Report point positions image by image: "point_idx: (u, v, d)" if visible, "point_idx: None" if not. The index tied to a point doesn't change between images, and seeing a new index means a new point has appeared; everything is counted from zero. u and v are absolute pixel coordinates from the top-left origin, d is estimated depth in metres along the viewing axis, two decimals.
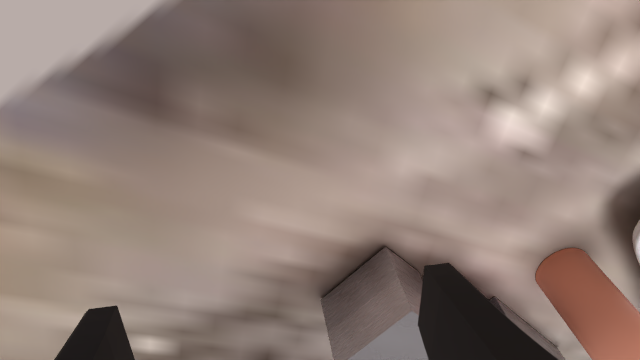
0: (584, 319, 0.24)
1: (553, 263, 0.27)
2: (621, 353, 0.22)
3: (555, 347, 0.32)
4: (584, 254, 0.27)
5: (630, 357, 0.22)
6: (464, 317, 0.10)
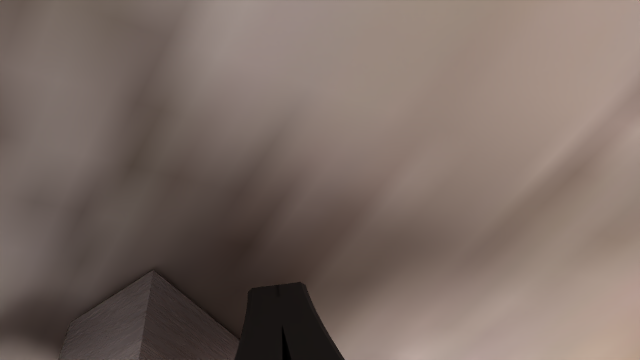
0: None
1: None
2: None
3: None
4: None
5: None
6: (287, 342, 0.10)
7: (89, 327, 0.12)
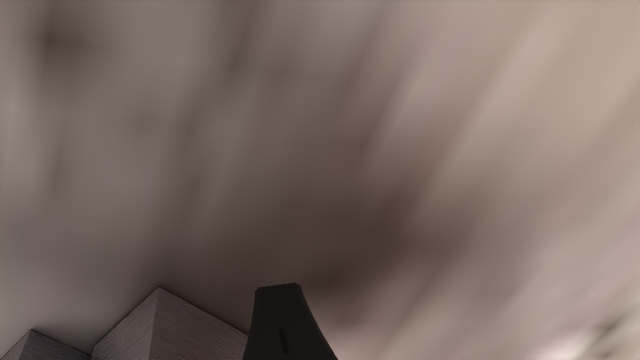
0: None
1: None
2: None
3: None
4: None
5: None
6: (281, 343, 0.10)
7: (108, 348, 0.13)
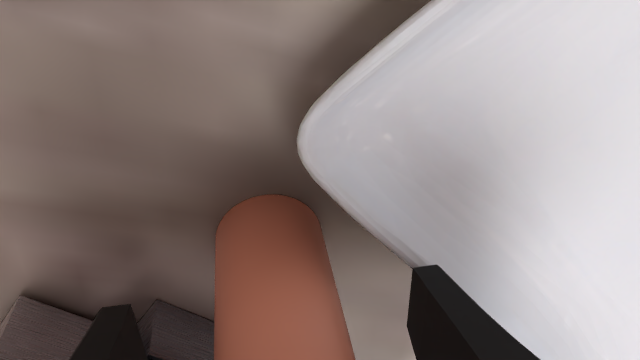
0: (215, 343, 0.11)
1: (224, 228, 0.14)
2: None
3: None
4: (285, 204, 0.14)
5: None
6: (450, 319, 0.10)
7: None
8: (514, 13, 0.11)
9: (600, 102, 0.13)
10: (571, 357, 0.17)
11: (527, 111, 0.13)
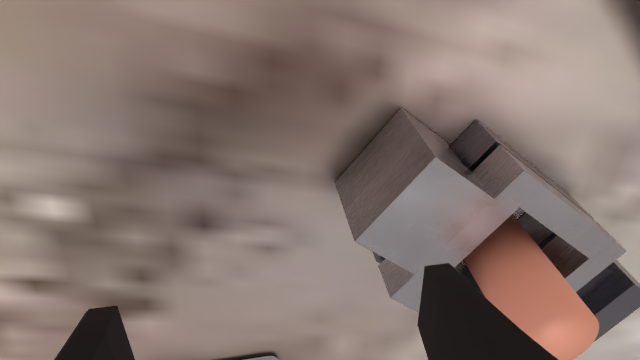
0: (478, 259, 0.22)
1: None
2: (509, 291, 0.20)
3: (566, 192, 0.25)
4: None
5: (517, 294, 0.19)
6: (464, 317, 0.10)
7: None
8: None
9: None
10: None
11: None
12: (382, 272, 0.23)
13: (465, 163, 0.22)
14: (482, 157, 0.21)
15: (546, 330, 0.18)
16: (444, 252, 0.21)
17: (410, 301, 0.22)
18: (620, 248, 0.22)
